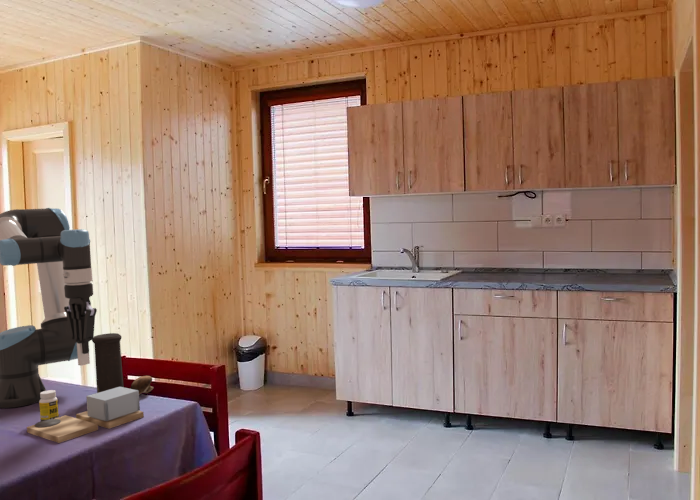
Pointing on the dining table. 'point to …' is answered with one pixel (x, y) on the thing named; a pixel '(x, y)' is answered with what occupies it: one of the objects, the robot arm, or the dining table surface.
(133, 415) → the pattern board
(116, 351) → the container
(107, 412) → the cover
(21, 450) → the dining table surface
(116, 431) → the dining table surface
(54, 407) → the supplement bottle
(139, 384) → the mushroom
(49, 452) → the dining table surface
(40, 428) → the board
